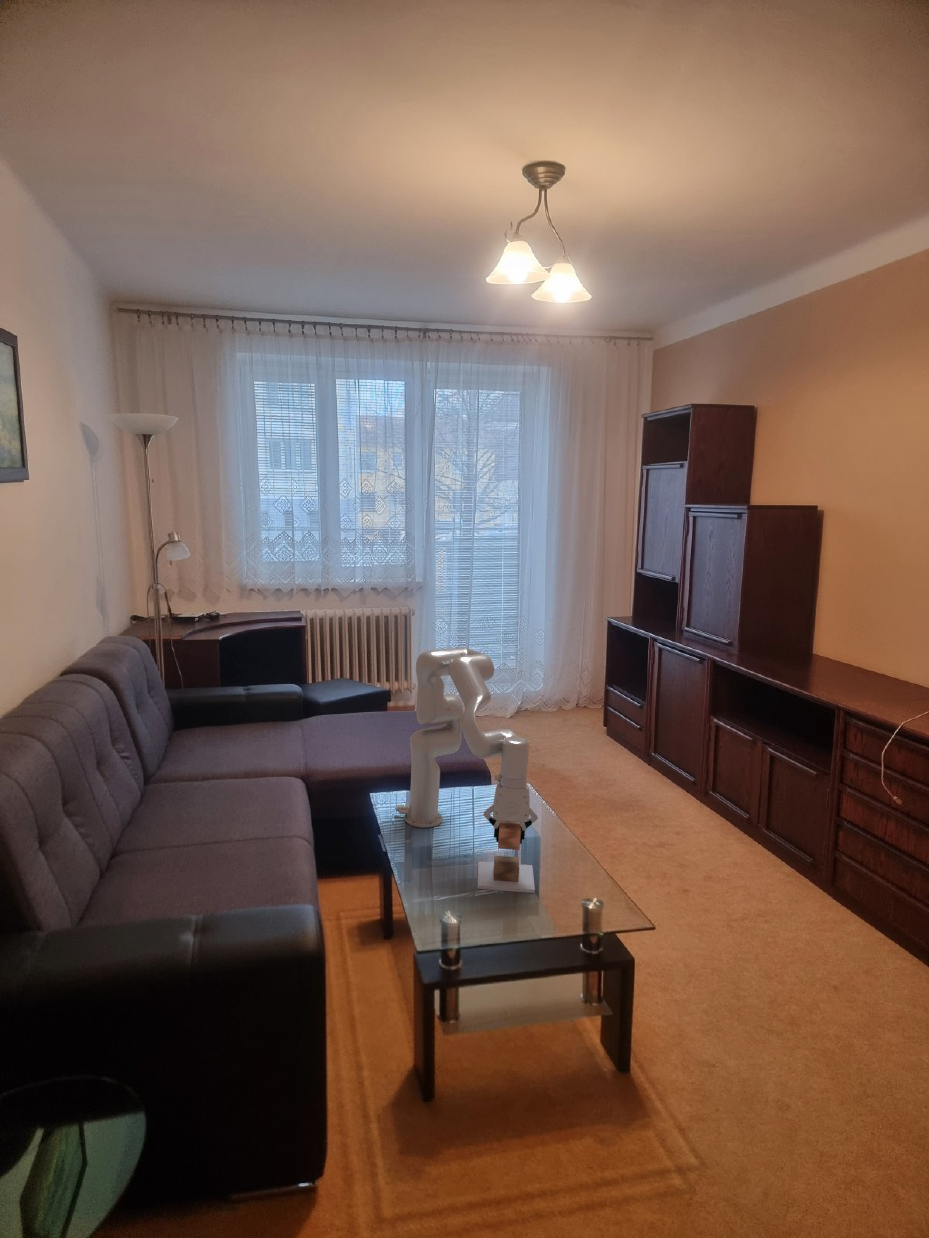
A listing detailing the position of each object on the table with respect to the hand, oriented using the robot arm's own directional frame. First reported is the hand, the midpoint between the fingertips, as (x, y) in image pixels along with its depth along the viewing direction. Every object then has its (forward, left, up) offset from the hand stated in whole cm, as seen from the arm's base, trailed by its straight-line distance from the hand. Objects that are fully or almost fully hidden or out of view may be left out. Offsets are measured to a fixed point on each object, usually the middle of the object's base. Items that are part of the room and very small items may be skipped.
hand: (508, 840), depth 217 cm
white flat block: (0, 0, -12) cm, 12 cm away
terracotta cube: (0, 0, -1) cm, 1 cm away
